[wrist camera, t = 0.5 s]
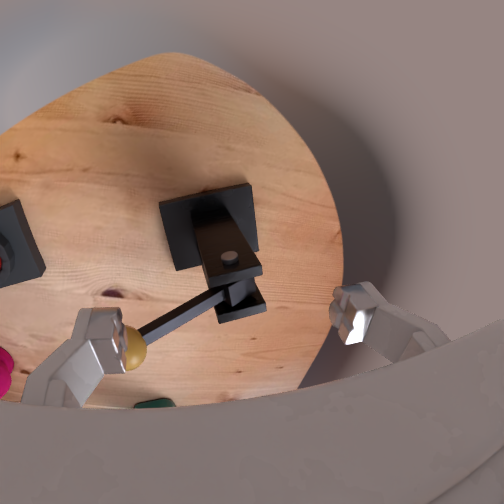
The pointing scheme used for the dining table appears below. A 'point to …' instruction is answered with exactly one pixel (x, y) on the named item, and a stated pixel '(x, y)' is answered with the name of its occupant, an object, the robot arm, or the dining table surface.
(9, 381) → the pepper mill
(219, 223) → the stand
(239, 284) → the lever
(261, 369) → the dining table surface
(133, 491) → the robot arm
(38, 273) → the block
